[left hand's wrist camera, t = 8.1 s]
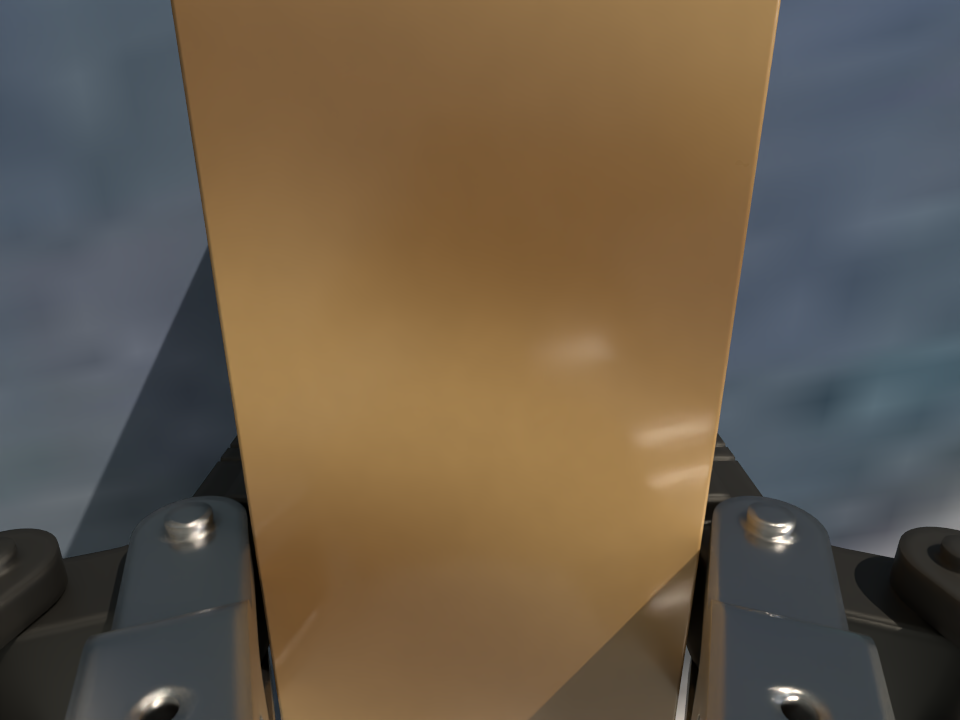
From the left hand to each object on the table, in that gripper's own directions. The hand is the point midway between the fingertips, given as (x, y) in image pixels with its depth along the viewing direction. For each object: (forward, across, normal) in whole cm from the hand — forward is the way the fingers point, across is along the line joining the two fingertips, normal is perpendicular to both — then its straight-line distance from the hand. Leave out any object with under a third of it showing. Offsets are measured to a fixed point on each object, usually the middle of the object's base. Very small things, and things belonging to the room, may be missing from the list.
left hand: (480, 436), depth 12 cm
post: (+2, 0, -19) cm, 19 cm away
